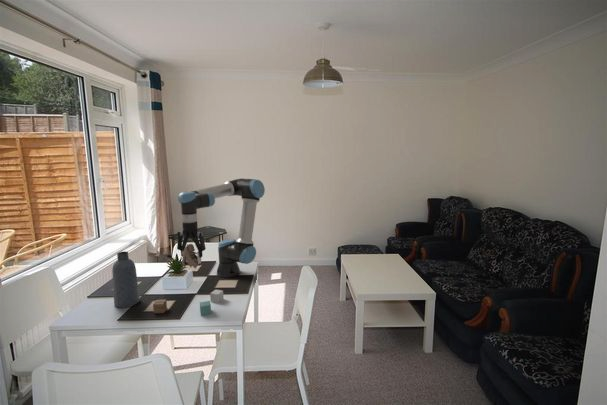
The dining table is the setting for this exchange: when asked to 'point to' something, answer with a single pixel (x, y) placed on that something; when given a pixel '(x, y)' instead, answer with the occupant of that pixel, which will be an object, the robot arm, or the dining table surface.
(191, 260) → the toy
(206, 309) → the teal cube
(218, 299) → the grey cube
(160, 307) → the walnut cube
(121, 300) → the vase
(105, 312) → the dining table surface
